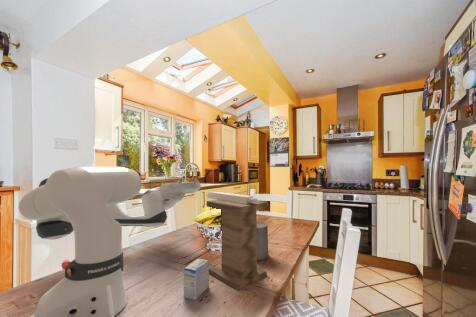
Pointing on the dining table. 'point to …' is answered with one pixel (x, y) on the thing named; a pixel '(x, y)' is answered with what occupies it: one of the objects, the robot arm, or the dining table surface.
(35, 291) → the dining table surface
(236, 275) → the stand
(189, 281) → the medicine box
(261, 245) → the pillar candle
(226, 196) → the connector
